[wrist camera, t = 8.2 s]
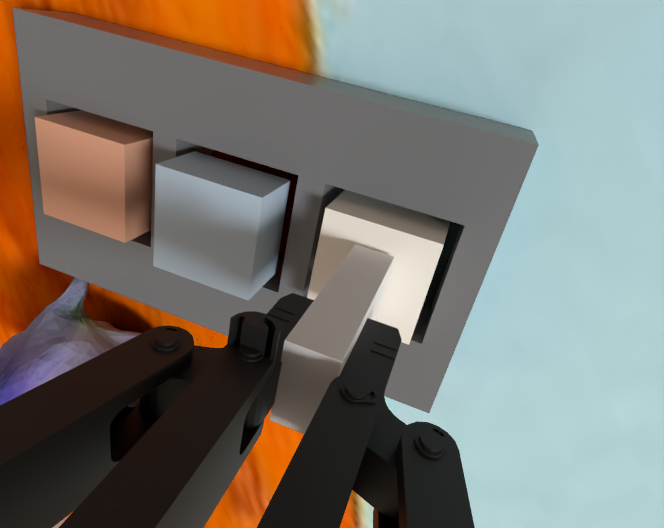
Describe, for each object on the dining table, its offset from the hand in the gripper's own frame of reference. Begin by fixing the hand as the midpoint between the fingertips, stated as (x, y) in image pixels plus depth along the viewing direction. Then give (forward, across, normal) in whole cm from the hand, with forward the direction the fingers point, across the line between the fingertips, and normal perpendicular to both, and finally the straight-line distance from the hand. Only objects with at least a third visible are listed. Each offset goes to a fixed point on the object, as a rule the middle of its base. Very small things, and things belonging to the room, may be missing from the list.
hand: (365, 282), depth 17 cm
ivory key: (+3, 0, 0) cm, 3 cm away
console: (+4, -6, 0) cm, 8 cm away
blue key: (+2, -6, 0) cm, 7 cm away
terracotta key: (+3, -13, 0) cm, 13 cm away
